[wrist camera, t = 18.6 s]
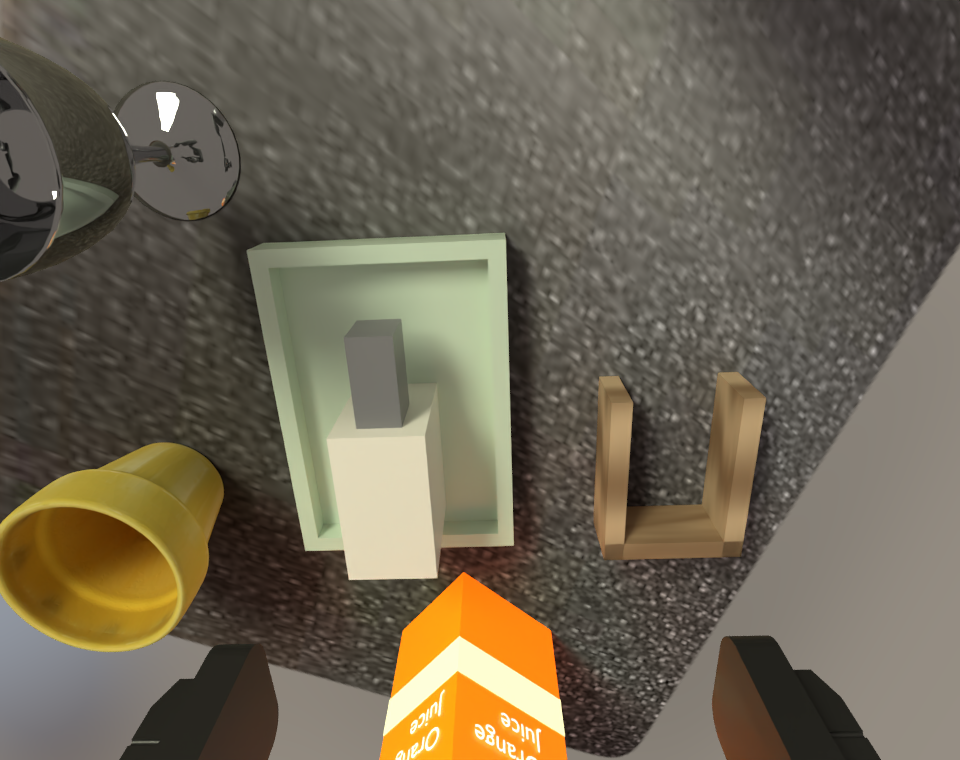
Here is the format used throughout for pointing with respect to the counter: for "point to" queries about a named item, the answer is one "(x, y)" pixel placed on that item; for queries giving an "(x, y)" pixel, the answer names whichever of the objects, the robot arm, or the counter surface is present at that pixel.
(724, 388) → the dock
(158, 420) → the counter surface
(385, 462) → the cream and grey blocks
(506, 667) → the orange juice
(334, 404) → the tray
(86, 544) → the plant pot
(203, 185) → the wine glass
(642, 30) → the counter surface
